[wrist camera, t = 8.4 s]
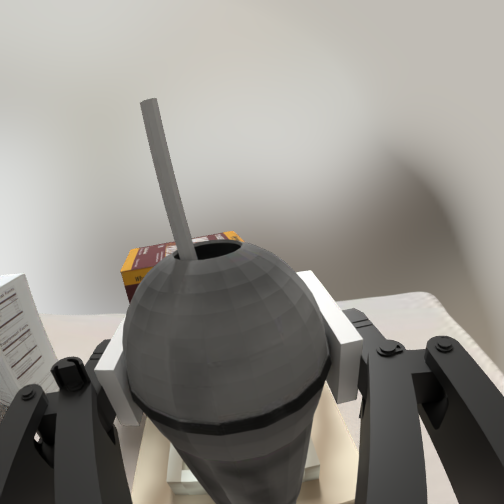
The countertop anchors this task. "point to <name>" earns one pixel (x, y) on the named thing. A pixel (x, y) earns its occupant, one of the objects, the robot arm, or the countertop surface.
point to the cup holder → (314, 479)
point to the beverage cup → (225, 355)
